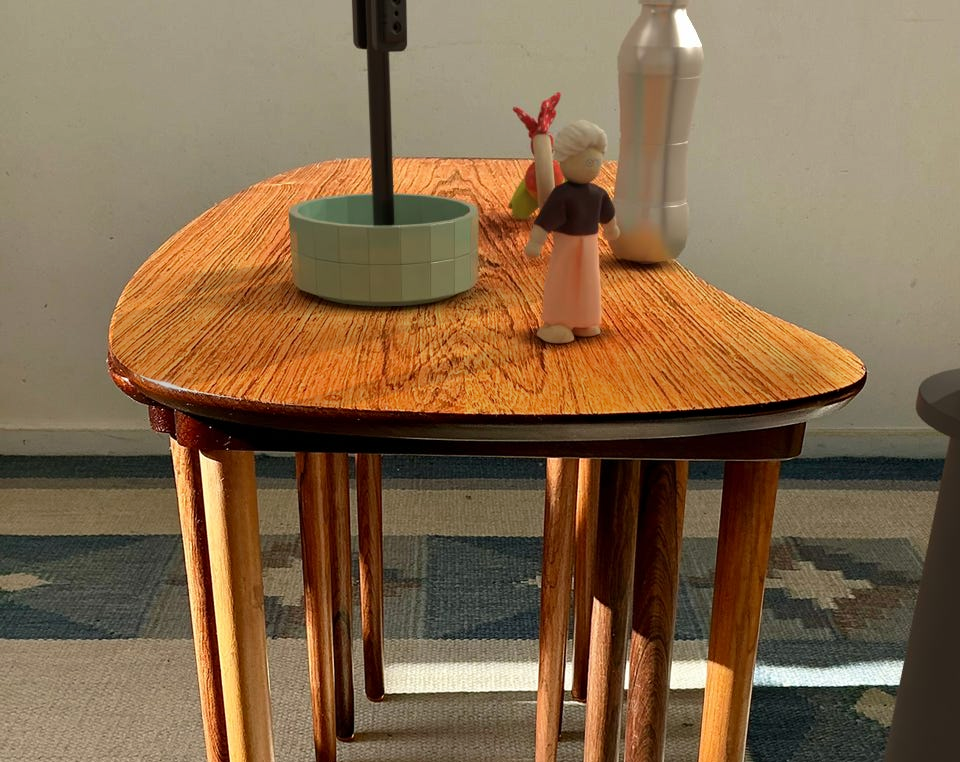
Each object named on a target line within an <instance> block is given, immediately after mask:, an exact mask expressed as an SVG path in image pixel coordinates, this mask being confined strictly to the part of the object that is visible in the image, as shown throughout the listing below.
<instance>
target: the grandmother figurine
mask: <svg viewBox="0 0 960 762" xmlns="http://www.w3.org/2000/svg"><path fill="white" fill-rule="evenodd" d="M553 141H554V143H553V150H554V151H553V160H554V161H556V162H557V163H558V164H559V165H560V169H561V172H562V174H563V176H564V177H565V178H566V179H567V181H566V182H564V183H562V184H560V185H558V186H555V188H554V189H553V191H552V192H551V194H550V195H549V197H548V199H547V200H546V202H545V204H544V206H543V207H542V209H541V211H540V212H538V215H537V216H536V217H535V220H534V222H533V226H532V229H531V232H530V234H529V241H528V242H527V243H526V245H525V246H524V254H525V256H527V258H529V259H537V258H539V257H540V256H541V253H542V251H543V246H544V245H545V244H546V242H547V240H548V238H549V235H550V234H551V233H552V243H553V244H552V248H551V251H550V257H549V260H548V266H547V270H546V274H545V277H544V283H543V295H542V309H541V317H540V319H541V322H544V324H543V325H541V326H540V327H539V328H538V330H537V332H536V337H538V338H539V339H541V340H542V341H544V342H547V343H551V344H566V343H572V342H573V341H574V340H575V336H577V337H584V338H585V337H586V338H587V337H593V336H597V335H600V334H601V328H600V325H602V315H603V314H602V310H603V308H602V306H603V305H602V287H601V285H602V284H601V274H600V254H599V241H598V238H599V237H598V236H599V230H600V229H599V228H600V227H601V229H602V234H603V238H604V239H605V240H606V241H607V242H608V241H613V240H616V239H617V238H618V237H619V234H620V231H619V228H618V227H617V225H616V217H615V208H614V205H613V203H612V199H611V197H610V195H609V193H608V191H607V190H606V189H605V188H604V187H601V186H599V185H598V184H596V183H593V181H594V180H595V179H597V177H599V174H600V172H601V171H602V167H603V158H604V157H605V154H606V153H607V151H608V144H609V140H608V136H607V134H606V133H605V130H604V129H602V128H600V127H599V125H597V124H595V123H593V122H590V121H588V120H587V119H579V120H575V121H574V122H571V123H568V124H567V125H566V126H564V127H563V128H562V129H561V130H559V131H557V133H556V137H555V139H554V140H553ZM599 225H600V227H599Z"/></svg>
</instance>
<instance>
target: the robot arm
mask: <svg viewBox="0 0 960 762" xmlns="http://www.w3.org/2000/svg"><path fill="white" fill-rule="evenodd" d="M351 13H352V15H351V17H352V41H353V45H354V47H355V48H356V49H358V50H359V49H360V50H367V48H366V23H365V0H351ZM407 13H408V12H407V0H371V16H372V45H373V48H374V49H375V50H376V51H380V52H389V53H396V52H397V53H398V52H399V53H400V52H404V51H405V50H406V49H407V47H408V14H407Z"/></svg>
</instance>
